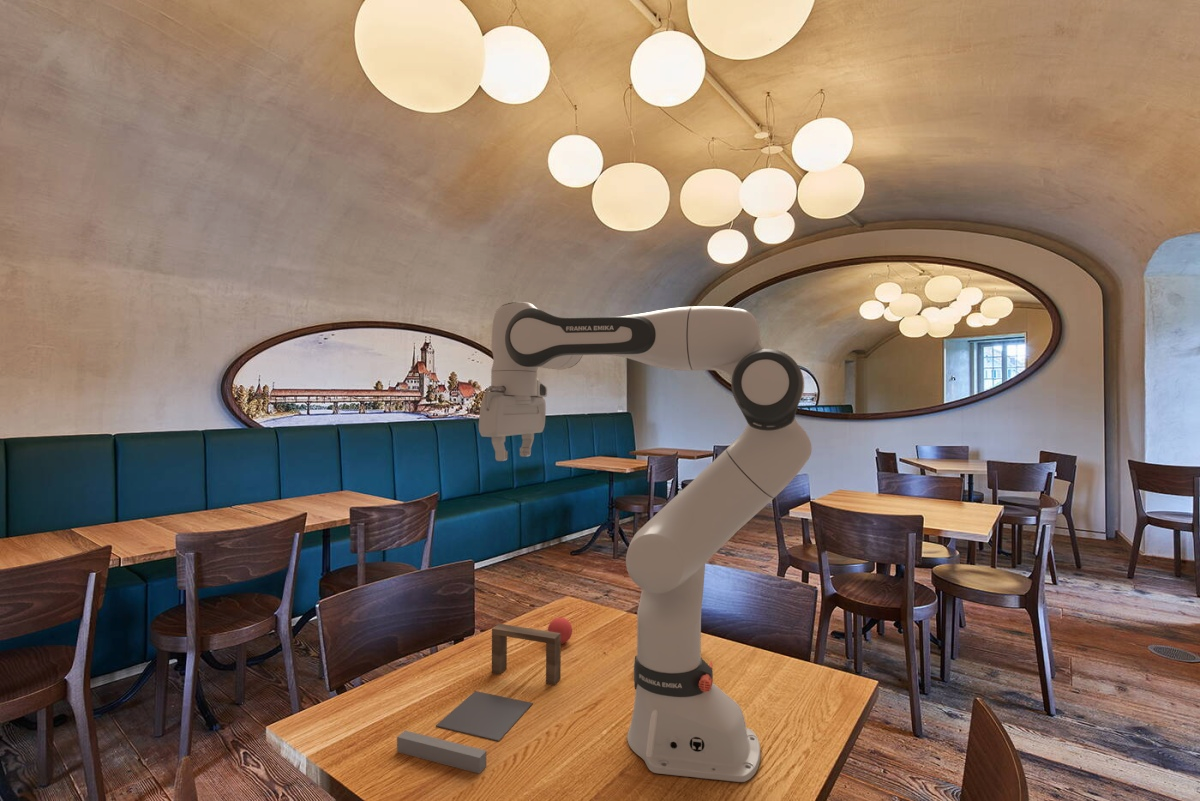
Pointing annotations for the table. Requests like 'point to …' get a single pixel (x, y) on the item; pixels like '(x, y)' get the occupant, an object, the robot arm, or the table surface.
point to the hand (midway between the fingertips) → (513, 458)
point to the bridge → (549, 638)
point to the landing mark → (485, 715)
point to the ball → (561, 628)
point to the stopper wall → (442, 751)
